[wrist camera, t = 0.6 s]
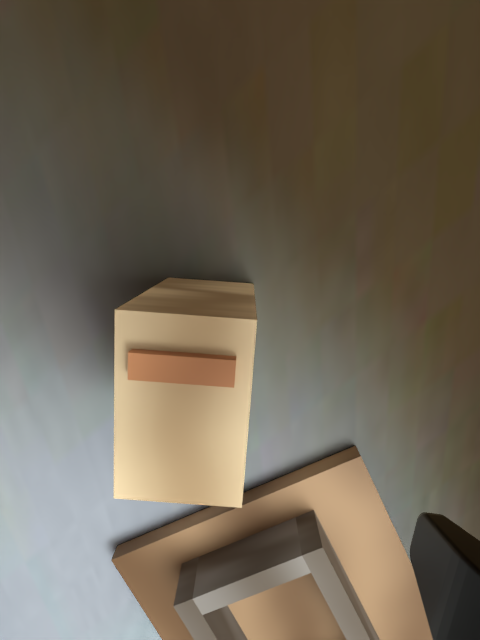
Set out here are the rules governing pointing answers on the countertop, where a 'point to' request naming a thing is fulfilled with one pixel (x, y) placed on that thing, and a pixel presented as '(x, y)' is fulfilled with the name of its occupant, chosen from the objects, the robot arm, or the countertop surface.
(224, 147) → the countertop surface
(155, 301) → the keyed block
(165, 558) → the holder
